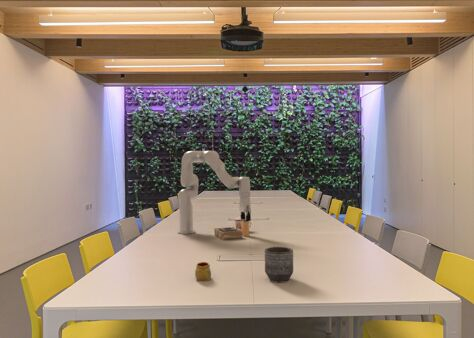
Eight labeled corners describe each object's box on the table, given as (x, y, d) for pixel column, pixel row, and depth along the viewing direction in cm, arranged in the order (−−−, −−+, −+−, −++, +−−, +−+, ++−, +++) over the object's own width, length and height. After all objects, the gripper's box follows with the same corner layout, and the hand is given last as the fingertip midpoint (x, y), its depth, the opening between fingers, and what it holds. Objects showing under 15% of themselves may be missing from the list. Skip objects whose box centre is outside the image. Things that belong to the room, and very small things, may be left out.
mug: (209, 281, 168) (209, 266, 168) (194, 281, 168) (193, 265, 168) (213, 273, 180) (213, 258, 180) (198, 273, 180) (198, 258, 180)
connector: (241, 235, 270) (241, 219, 270) (246, 235, 271) (246, 218, 271) (243, 236, 266) (243, 220, 266) (249, 236, 268) (248, 219, 267)
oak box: (214, 235, 271) (214, 227, 271) (233, 234, 276) (233, 226, 276) (222, 240, 255) (222, 231, 255) (242, 238, 260) (242, 230, 260)
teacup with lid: (234, 232, 283) (234, 216, 282) (235, 230, 292) (235, 214, 291) (251, 232, 281) (250, 216, 281) (251, 230, 291) (251, 214, 290)
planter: (276, 273, 178) (276, 245, 177) (299, 278, 169) (298, 249, 169) (259, 279, 169) (258, 250, 169) (281, 285, 160) (281, 254, 160)
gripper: (235, 194, 275) (236, 219, 275) (244, 196, 259) (245, 222, 259) (245, 194, 278) (246, 218, 278) (254, 195, 261) (255, 221, 262)
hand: (245, 220), depth 268 cm, fingers open, 9 cm apart
